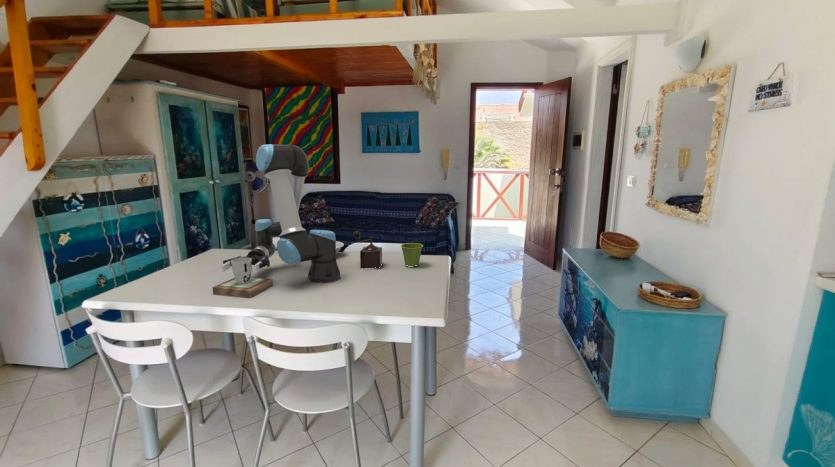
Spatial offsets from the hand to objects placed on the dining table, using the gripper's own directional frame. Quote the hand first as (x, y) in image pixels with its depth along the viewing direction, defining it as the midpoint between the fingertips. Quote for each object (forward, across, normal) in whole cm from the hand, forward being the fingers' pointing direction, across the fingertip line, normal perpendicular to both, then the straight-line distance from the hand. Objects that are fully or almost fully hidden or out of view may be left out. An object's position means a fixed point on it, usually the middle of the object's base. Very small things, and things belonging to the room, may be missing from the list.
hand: (238, 268), depth 166 cm
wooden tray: (-3, 0, -10) cm, 11 cm away
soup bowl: (-62, -22, -11) cm, 66 cm away
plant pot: (-41, -73, -11) cm, 84 cm away
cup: (-3, 0, -7) cm, 8 cm away
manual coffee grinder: (-41, -49, -11) cm, 65 cm away
